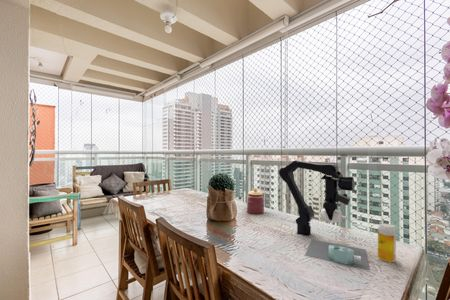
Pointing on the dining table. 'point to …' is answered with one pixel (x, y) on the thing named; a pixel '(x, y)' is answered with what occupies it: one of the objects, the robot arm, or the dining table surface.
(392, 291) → the dining table surface
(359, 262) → the rubber mat
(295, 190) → the robot arm
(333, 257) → the teal connector
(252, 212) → the canister
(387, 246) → the beer can
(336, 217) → the white rounded piece
